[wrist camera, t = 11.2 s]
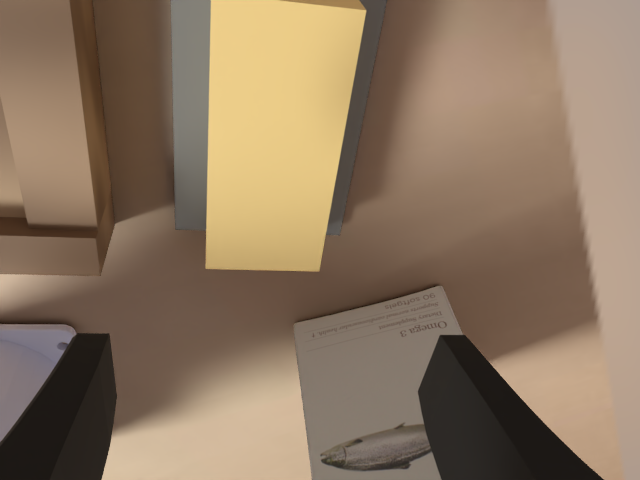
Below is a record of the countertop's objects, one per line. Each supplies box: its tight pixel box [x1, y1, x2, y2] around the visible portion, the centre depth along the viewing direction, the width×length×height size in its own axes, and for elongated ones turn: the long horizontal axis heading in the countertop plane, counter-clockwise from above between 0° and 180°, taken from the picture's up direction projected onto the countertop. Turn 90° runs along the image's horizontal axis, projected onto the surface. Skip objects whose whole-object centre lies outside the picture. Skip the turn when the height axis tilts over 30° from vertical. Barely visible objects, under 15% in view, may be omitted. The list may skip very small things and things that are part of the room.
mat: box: [171, 0, 387, 235], centre depth 18 cm, size 11×6×1 cm, turn 172°
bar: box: [206, 0, 366, 271], centre depth 18 cm, size 9×4×2 cm, turn 172°
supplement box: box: [294, 286, 463, 480], centre depth 23 cm, size 7×7×13 cm
